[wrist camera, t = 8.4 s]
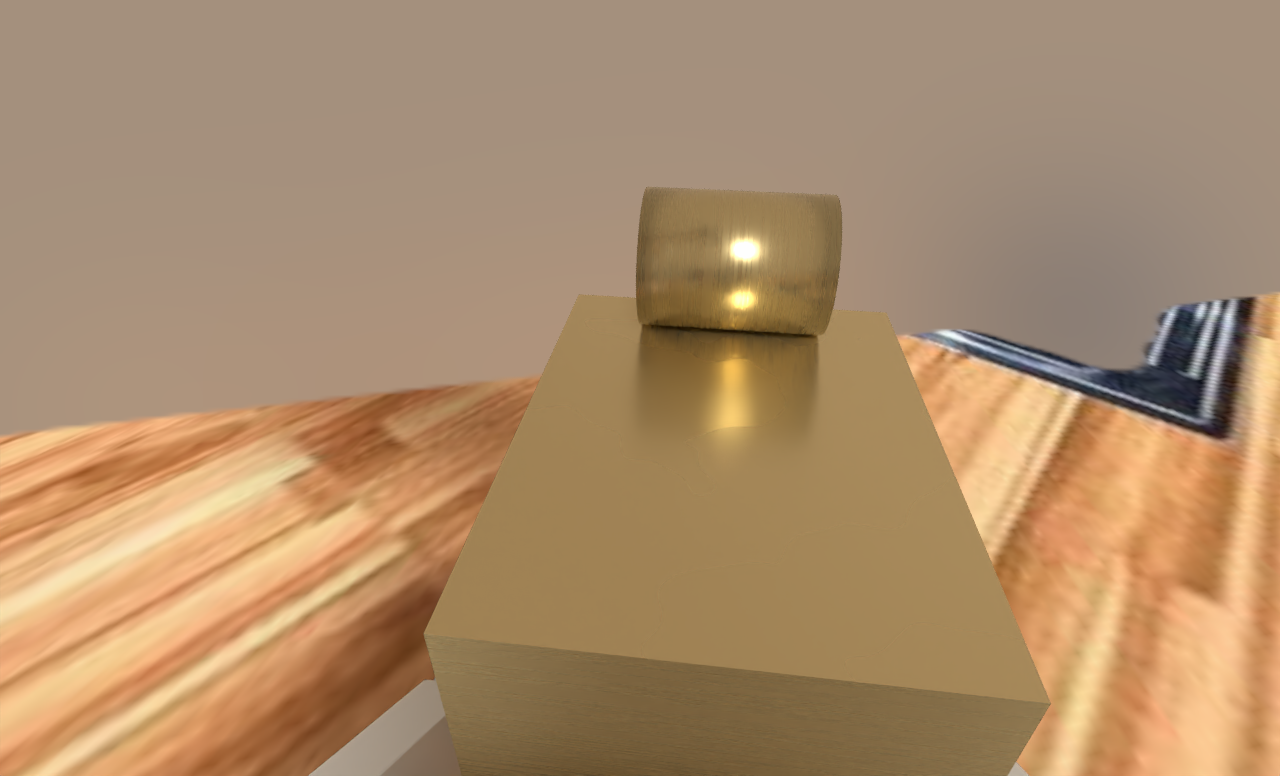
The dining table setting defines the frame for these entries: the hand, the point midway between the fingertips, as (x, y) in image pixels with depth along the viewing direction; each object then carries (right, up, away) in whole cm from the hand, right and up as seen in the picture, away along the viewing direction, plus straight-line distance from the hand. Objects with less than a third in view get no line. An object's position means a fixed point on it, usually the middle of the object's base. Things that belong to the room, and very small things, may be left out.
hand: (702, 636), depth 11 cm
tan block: (0, -6, +3) cm, 6 cm away
